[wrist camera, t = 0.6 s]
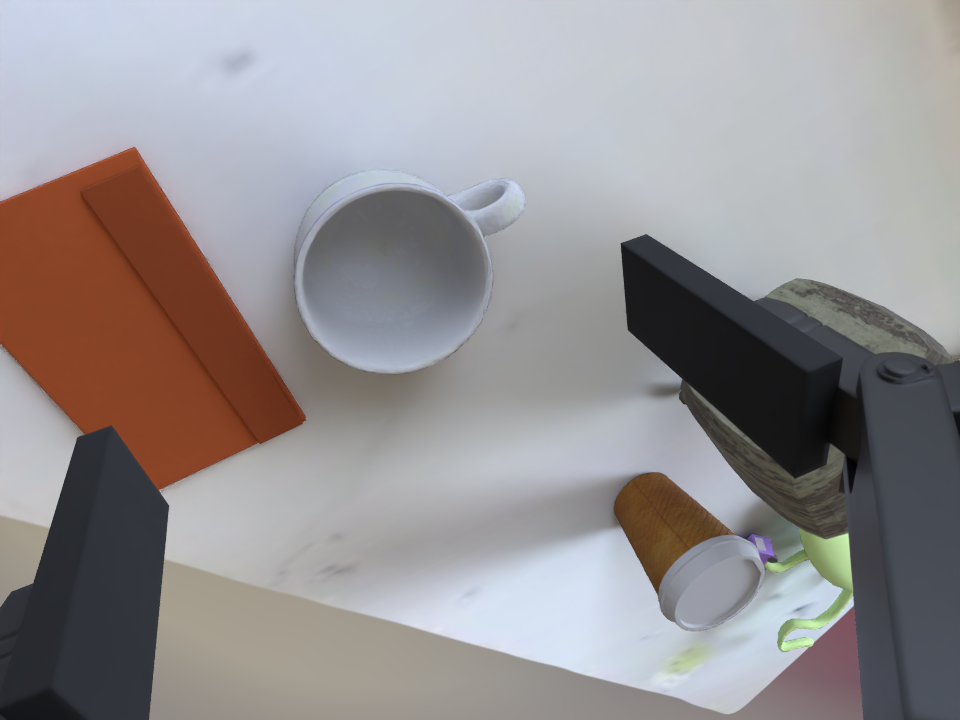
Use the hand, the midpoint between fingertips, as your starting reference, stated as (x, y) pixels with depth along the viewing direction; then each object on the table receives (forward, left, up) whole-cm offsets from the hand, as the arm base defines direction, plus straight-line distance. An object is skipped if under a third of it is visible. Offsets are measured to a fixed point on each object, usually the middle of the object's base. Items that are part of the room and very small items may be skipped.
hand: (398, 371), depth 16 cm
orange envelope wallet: (+6, -14, -25) cm, 29 cm away
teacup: (+6, +3, -25) cm, 26 cm away
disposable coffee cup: (+41, +15, -25) cm, 51 cm away
